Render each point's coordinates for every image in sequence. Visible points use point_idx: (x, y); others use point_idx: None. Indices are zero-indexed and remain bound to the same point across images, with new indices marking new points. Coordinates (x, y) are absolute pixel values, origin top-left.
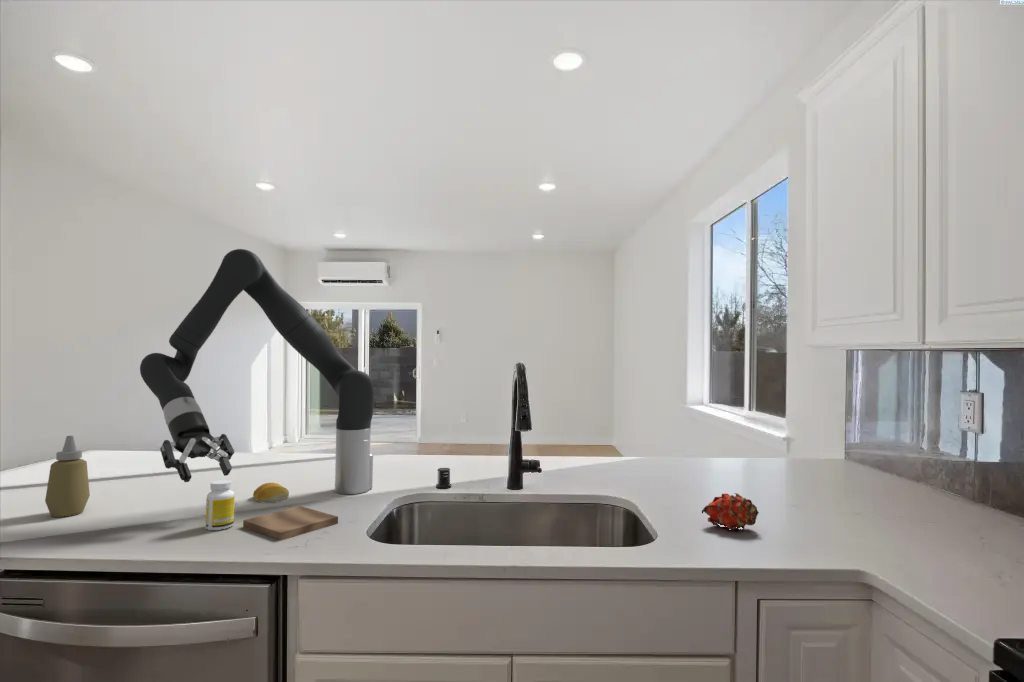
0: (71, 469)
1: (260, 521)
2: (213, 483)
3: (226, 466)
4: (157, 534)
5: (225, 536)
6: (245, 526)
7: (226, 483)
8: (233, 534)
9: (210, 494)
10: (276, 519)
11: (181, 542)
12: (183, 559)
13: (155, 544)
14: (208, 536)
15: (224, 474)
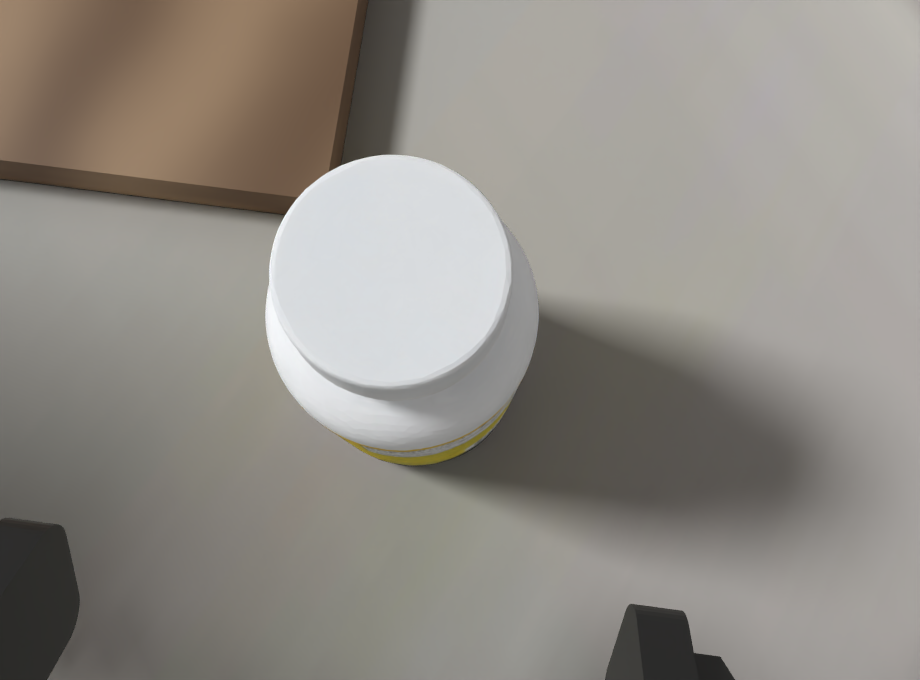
0: None
1: (286, 64)
2: (501, 264)
3: (10, 577)
4: (770, 622)
5: (527, 152)
6: None
7: (398, 155)
8: (472, 143)
9: (523, 304)
10: (192, 8)
11: (761, 291)
12: (907, 5)
13: (884, 404)
14: (589, 249)
15: (70, 617)
